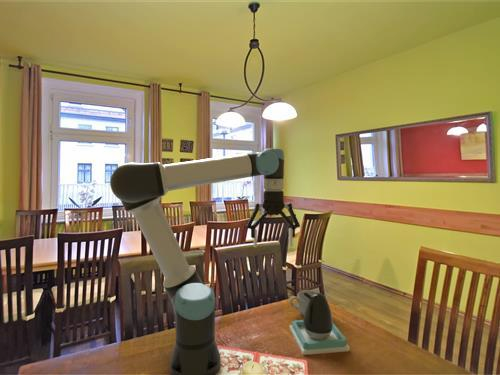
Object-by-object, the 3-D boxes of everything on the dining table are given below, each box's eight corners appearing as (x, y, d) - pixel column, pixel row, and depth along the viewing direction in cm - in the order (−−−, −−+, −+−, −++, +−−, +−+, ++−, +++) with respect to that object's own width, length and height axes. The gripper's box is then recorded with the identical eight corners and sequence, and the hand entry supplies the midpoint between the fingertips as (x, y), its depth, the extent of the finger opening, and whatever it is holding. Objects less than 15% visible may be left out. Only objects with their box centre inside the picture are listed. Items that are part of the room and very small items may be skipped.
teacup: (321, 308, 125) (321, 290, 124) (325, 321, 114) (325, 301, 113) (288, 306, 126) (289, 289, 126) (289, 319, 115) (290, 300, 115)
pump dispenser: (308, 324, 109) (309, 285, 108) (336, 333, 103) (337, 291, 103) (297, 337, 100) (298, 295, 100) (327, 347, 95) (328, 302, 94)
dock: (302, 354, 93) (303, 345, 93) (289, 328, 109) (289, 320, 108) (349, 351, 95) (350, 341, 95) (329, 325, 111) (330, 317, 111)
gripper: (241, 191, 103) (241, 249, 104) (308, 190, 106) (308, 247, 107) (239, 189, 110) (239, 244, 111) (302, 189, 113) (301, 242, 115)
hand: (272, 246), depth 109 cm, fingers open, 13 cm apart
